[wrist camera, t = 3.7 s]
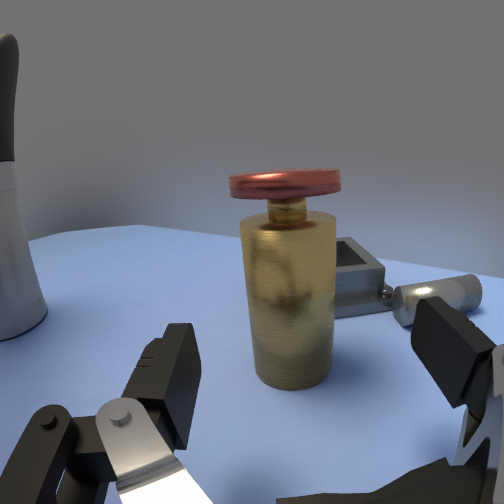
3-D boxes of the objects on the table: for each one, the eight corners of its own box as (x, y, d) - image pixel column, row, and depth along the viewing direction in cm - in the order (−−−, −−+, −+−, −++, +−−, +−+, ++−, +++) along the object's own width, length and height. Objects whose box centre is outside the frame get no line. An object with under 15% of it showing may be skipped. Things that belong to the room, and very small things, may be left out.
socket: (260, 326, 23) (256, 286, 22) (257, 270, 34) (254, 241, 33) (398, 308, 22) (403, 271, 21) (356, 261, 34) (356, 233, 33)
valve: (250, 397, 15) (223, 179, 12) (250, 343, 21) (232, 173, 17) (345, 386, 15) (356, 171, 12) (325, 335, 21) (324, 166, 17)
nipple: (388, 298, 23) (398, 332, 21) (401, 278, 20) (414, 316, 18) (457, 286, 22) (468, 315, 20) (473, 267, 20) (486, 298, 18)
